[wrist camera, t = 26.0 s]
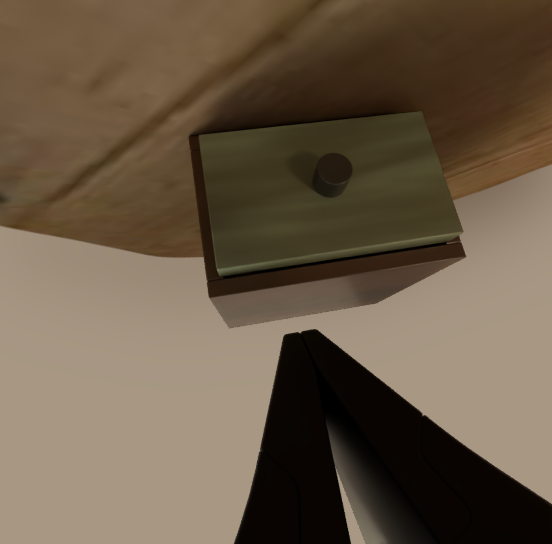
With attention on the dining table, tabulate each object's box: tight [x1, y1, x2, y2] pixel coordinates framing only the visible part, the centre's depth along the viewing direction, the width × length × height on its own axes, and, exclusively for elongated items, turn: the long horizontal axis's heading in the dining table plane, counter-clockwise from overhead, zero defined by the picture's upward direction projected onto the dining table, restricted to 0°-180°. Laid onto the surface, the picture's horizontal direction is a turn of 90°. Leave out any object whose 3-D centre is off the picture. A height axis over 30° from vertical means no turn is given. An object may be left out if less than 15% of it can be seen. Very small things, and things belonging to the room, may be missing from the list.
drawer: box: [199, 111, 463, 277], centre depth 21 cm, size 13×11×7 cm
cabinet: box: [189, 136, 466, 328], centre depth 23 cm, size 13×13×9 cm
